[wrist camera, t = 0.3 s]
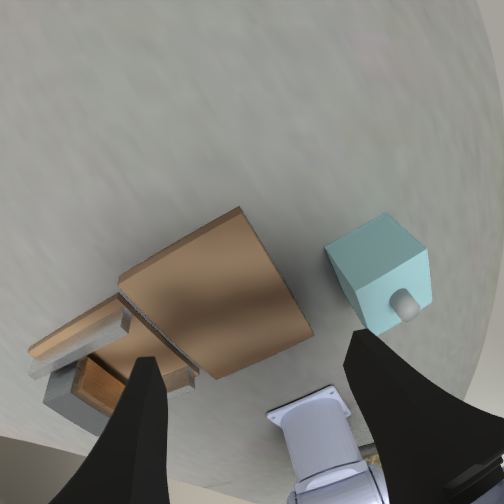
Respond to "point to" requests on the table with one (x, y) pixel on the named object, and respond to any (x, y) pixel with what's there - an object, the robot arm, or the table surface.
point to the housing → (382, 273)
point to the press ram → (83, 394)
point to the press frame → (187, 312)
